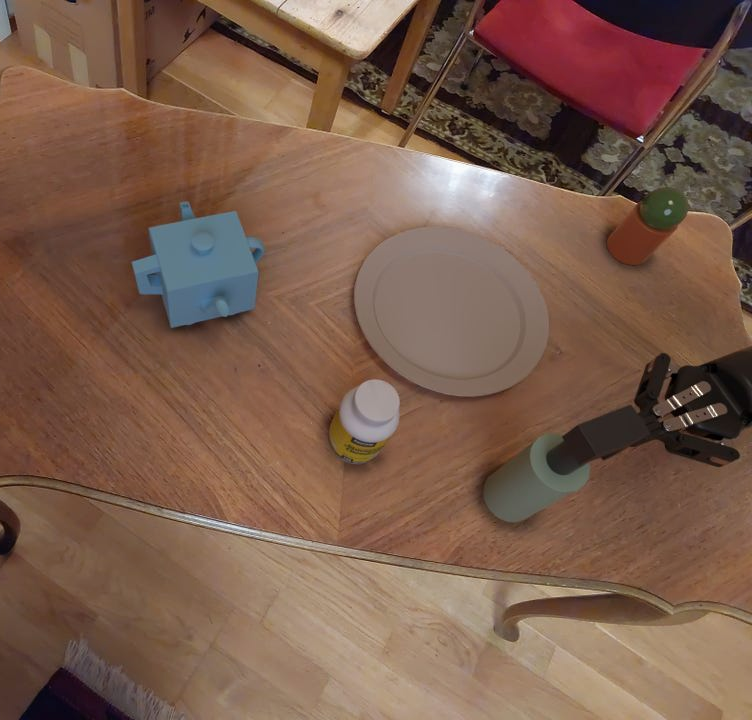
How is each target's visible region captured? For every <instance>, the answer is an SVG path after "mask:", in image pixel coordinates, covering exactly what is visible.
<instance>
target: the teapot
mask: <svg viewBox="0 0 752 720" xmlns="http://www.w3.org/2000/svg"><path fill="white" fill-rule="evenodd" d="M179 214H180V215H179V216H180V220H179V221H175V222H170V223H166V224H161V225H155V226H151V227H148V234H149V243H150V250H151V255H150V256H145V257H143V258H140V259H137V260H133V261H131V266H132V269H133V275H134V279H135V282H136V286H137V289H138V294H139V295H161V299H162V302H163V304H164V309H165V313H166V316H167V319H168V323H169V326H170V329H173V328H178V327H182V326H185V325H186V326H190V325H193V324H195V323H200V322H203V321H208V320H212V319H217V318H222V317H223V318H227V317H228V316H234V315H236V314H238V313H243V312H247V311H251V310H255V308H256V299H257V289H258V282H259V268H258V266H257V264H258V262H259V261H260V260H261V259H262V258H263V256H264V255H265V252H266V249H265V248H266V247H265V245H264V242H263V241H262V240H261V239H260V238H258V237H256V236H247V235H246V234H245V231H244V228H243V226H242V222H241V219H240V217H239V215H238V212H237V210H233V211H227V212H222V213H217V214H212V215H206V216H200V217H196V216H195V214H194V212H193V210H192V206H191V205H190V202H189V201H187V200H186V201H182V202H179ZM251 249H253V251H252V250H251Z"/></svg>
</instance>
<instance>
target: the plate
mask: <svg viewBox="0 0 752 720" xmlns="http://www.w3.org/2000/svg"><path fill="white" fill-rule="evenodd" d="M353 306H354V310H355V311H354V312H355V315H356V318H357V322H358V324H359V327H360V329H361V333H362V334H363V336H364V338H365V339H366V341H367V343H368V345H369V346H370V347H371V348H372V350H373V351H374V352H375V353H376V355H377V356H378V357H379V358H380V359H381V360H382V361H383V363H385V364H386V365H387V366H388V367H389V368H391V369H392V370H393V371H395V372H396V373H397V374H398V375H399V376H402V377H403V378H405V379H407V380H408V381H409V382H412V383H414V384H416V385H417V386H420V387H422V388H423V389H424V388H425V389H428V390H430V391H433V392H436V393H440V394H444V395H449V396H456V397H481V396H482V397H483V396H488V395H489V396H490V395H494V394H496V393H500V392H502V391H503V392H504V391H505V390H508V389H511V388H512V387H514V386H515V385H517V384H519V383H521V382H522V381H523V380H524V379H526V378H527V377H528V376H529V375H530V374H531V373H532V372H533V371H534V370H535V369H536V367H537V365H539V363H540V361H541V360H542V358H543V355H544V354H545V351H546V348H547V345H548V341H549V333H550V318H549V313H548V307H547V304H546V301H545V298H544V295H543V293H542V291H541V288H540V287H539V285H538V283H537V282H536V280H535V279H534V277H533V275H531V273H530V272H529V271H528V269H527V268H526V267H525V266H524V265H523V264H522V263H521V262H520V261H519V260H518V259H517V258H516V257H514V256H513V254H511V252H509V251H507V250H506V249H504V248H503V247H502V246H501V245H499V244H497V243H495V242H494V241H491V240H489V239H487V238H485V237H484V236H481V235H479V234H476V233H473V232H470V231H467V230H463V229H458V228H453V227H447V226H423V227H422V226H421V227H416V228H411V229H407V230H404V231H400V232H399V233H396V234H394V235H392V236H390V237H388V238H387V239H385V240H383V241H381V243H379V244H377V246H375V247H374V248H373V249H372V250H371V251H370V253H369V254H368V255H367V256H366V257H365V259H364V261H363V262H362V263H361V266H360V268H359V270H358V272H357V275H356V278H355V281H354V290H353Z"/></svg>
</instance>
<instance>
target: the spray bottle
mask: <svg viewBox="0 0 752 720" xmlns="http://www.w3.org/2000/svg"><path fill="white" fill-rule="evenodd" d="M637 413H638V412H637V411H636V409H635V408H634V406H633V405H632V404H628V405H626V406H623V407H620V408H618V409H615V410H612V411H610V412H608V413H604V414H603V415H600V416H598V417H595V418H592V419H589V420H587V421H584V422H581V423H579V424H577V425H575V426H574V427H573V428H571V429H570V430H569V431H567V432H566V433H564V434H562V433H557V432H549V433H545V434H542V435H540V436H539V437H537V438H536V439H535V440H533V441H532V442H531V443H530V444H528V445H527V446H526V447H525V448H523V449H522V450H520V451H519V452H518V453H517V454H516V455H514V456H513V457H512V458H511V459H510V460H508V461H507V462H505V463H504V464H503V465H502V466H500V467H498V469H497V470H495V471H494V472H493V473H491V474H490V475H489V476H488V477H487V478H486V479H485V482H484V483H483V488H482V497H483V501H484V503H485V505H486V507H487V509H488V510H489V511H490V513H491V514H492V515H494V517H496V518H498V519H499V520H501V521H504V522H507V523H520V522H523V521H524V520H526V519H528V518H530V517H532V516H534V515H535V514H538V513H539V512H541V511H542V510H545V509H546V508H548V507H550V506H552V505H553V504H555V503H557V502H558V501H560V500H562V499H564V498H566V497H567V496H570V495H571V494H573V493H575V492H576V491H578V490H580V489H582V488H583V487H584V486H585V485H586V484H587V482H588V480H589V478H590V474H591V464H590V463H591V462H593V461H596V460H598V459H602V458H601V457H603V456H606V455H608V454H611V453H613V452H615V451H618V450H620V449H623V448H625V447H628V446H630V445H632V444H634V443H636V442H637V441H639V440H641V439H642V438H644V437H646V436H647V435H649V434H650V431H649V430H648V428H647V427H646V425H645V420H644V419H643V417H641V416H639V415H638V414H637ZM628 448H629V447H628Z"/></svg>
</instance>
